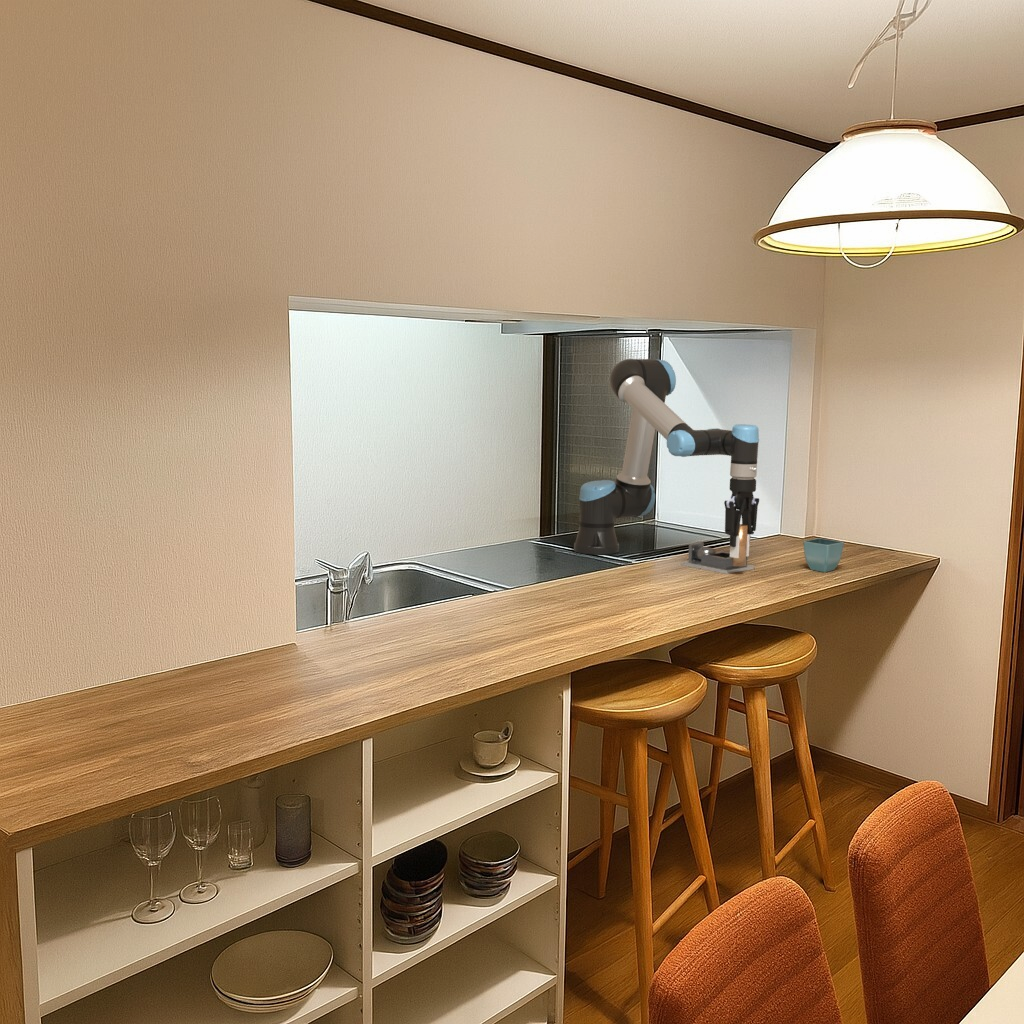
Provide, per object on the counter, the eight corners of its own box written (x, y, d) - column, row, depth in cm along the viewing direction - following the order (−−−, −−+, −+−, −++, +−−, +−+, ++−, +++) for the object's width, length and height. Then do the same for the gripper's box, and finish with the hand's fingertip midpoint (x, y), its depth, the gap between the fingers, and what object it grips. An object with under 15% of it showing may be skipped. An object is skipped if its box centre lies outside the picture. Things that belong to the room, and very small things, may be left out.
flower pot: (826, 574, 290) (828, 544, 289) (801, 570, 297) (802, 540, 296) (843, 571, 296) (844, 541, 295) (817, 566, 303) (819, 538, 301)
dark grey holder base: (680, 564, 305) (680, 545, 304) (707, 559, 313) (708, 541, 312) (726, 573, 290) (727, 553, 290) (754, 568, 298) (755, 549, 298)
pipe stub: (729, 564, 289) (731, 524, 287) (737, 563, 291) (739, 523, 290) (739, 567, 286) (742, 526, 284) (748, 565, 288) (750, 525, 287)
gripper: (734, 481, 277) (730, 561, 280) (771, 477, 287) (767, 555, 291) (714, 478, 282) (710, 557, 286) (751, 474, 293) (747, 551, 296)
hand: (739, 556), depth 288 cm, fingers closed on pipe stub, 4 cm apart
